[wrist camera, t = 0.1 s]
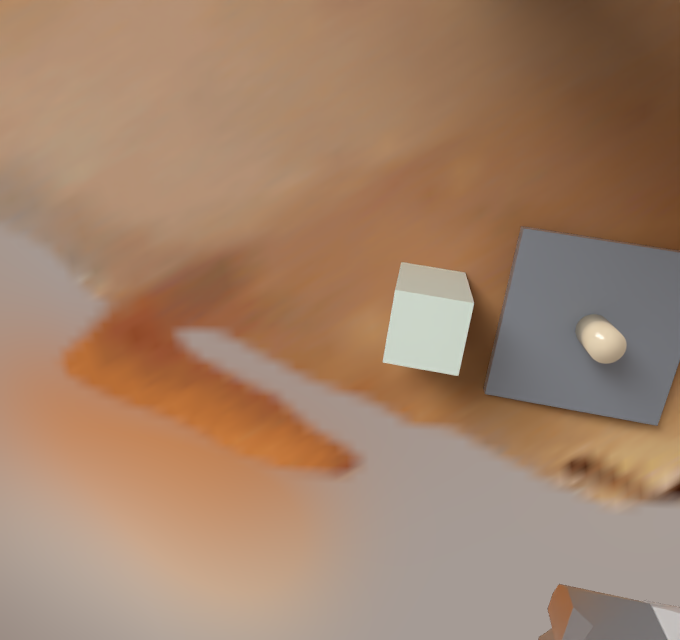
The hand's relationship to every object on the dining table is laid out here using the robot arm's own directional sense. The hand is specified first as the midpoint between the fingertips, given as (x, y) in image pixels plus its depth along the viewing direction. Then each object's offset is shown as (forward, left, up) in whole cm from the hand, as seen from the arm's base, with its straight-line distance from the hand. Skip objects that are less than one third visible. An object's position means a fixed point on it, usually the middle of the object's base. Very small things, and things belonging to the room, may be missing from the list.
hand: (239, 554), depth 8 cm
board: (+8, +19, -48) cm, 52 cm away
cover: (+8, +4, -48) cm, 49 cm away
